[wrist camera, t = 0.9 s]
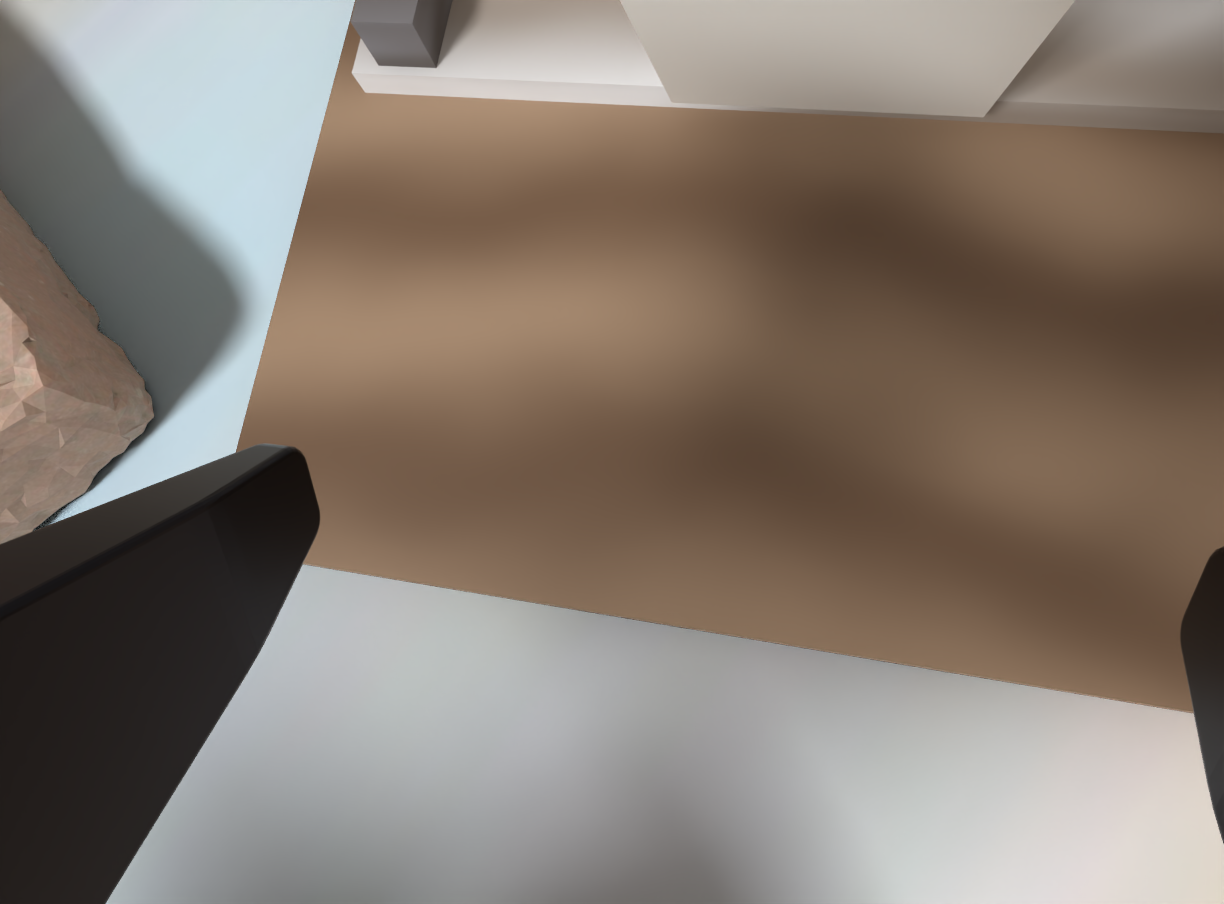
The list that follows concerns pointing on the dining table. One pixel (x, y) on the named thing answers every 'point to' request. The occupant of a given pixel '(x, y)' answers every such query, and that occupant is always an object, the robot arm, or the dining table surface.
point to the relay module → (843, 51)
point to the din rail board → (770, 342)
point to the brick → (55, 385)
